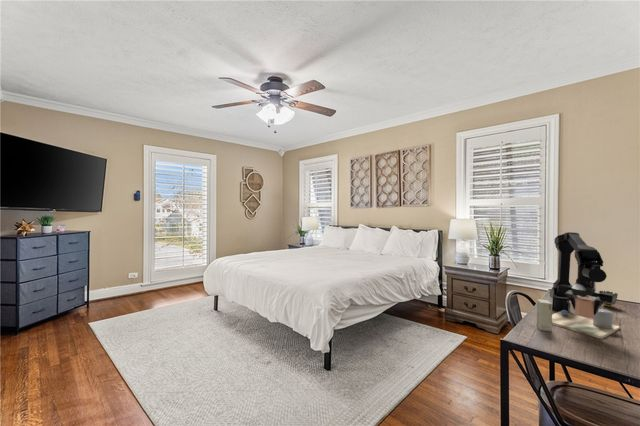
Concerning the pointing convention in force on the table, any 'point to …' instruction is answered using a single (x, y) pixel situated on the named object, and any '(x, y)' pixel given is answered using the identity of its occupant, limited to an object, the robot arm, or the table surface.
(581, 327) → the birch board
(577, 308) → the peach domed cylinder
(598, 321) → the grey rounded piece
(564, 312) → the blue ellipsoid
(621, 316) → the table surface
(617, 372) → the table surface
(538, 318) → the skincare box
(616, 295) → the cup
